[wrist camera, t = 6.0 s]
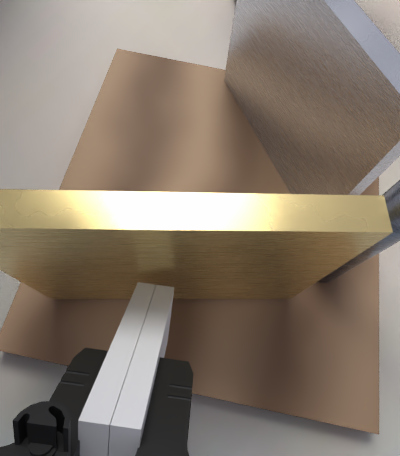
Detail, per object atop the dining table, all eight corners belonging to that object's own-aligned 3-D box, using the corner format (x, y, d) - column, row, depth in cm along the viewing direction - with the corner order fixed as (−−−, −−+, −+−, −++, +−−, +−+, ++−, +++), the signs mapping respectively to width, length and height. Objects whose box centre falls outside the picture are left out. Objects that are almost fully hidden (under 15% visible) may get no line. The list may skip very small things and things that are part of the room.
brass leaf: (288, 278, 20) (383, 195, 11) (290, 298, 19) (393, 232, 10) (54, 277, 19) (-62, 187, 10) (51, 299, 19) (-75, 227, 9)
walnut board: (3, 350, 19) (-7, 349, 18) (119, 61, 27) (117, 48, 26) (366, 430, 18) (379, 434, 17) (370, 111, 27) (378, 100, 26)
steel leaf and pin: (351, 273, 22) (583, 141, 9) (309, 292, 21) (498, 178, 9) (239, 87, 27) (291, -154, 15) (203, 98, 26) (225, -145, 14)
